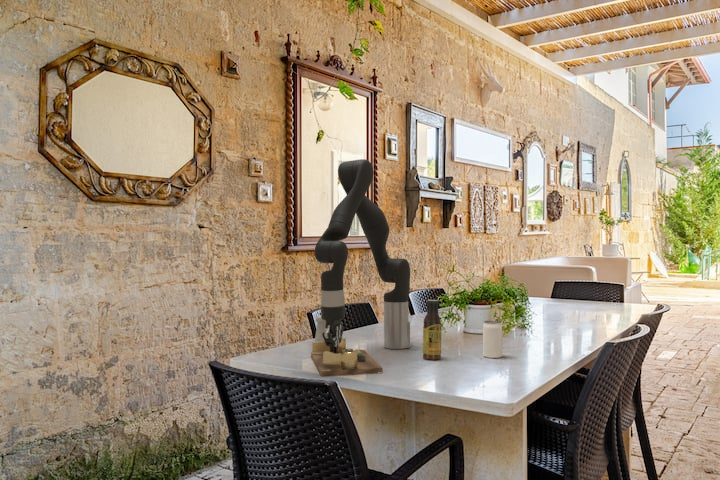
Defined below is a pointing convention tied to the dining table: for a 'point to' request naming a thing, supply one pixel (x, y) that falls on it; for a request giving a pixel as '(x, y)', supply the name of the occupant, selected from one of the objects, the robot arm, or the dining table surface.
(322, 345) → the dial
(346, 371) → the levelling plate
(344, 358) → the dial
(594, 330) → the dining table surface
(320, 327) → the salt shaker
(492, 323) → the can
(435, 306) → the sauce bottle
